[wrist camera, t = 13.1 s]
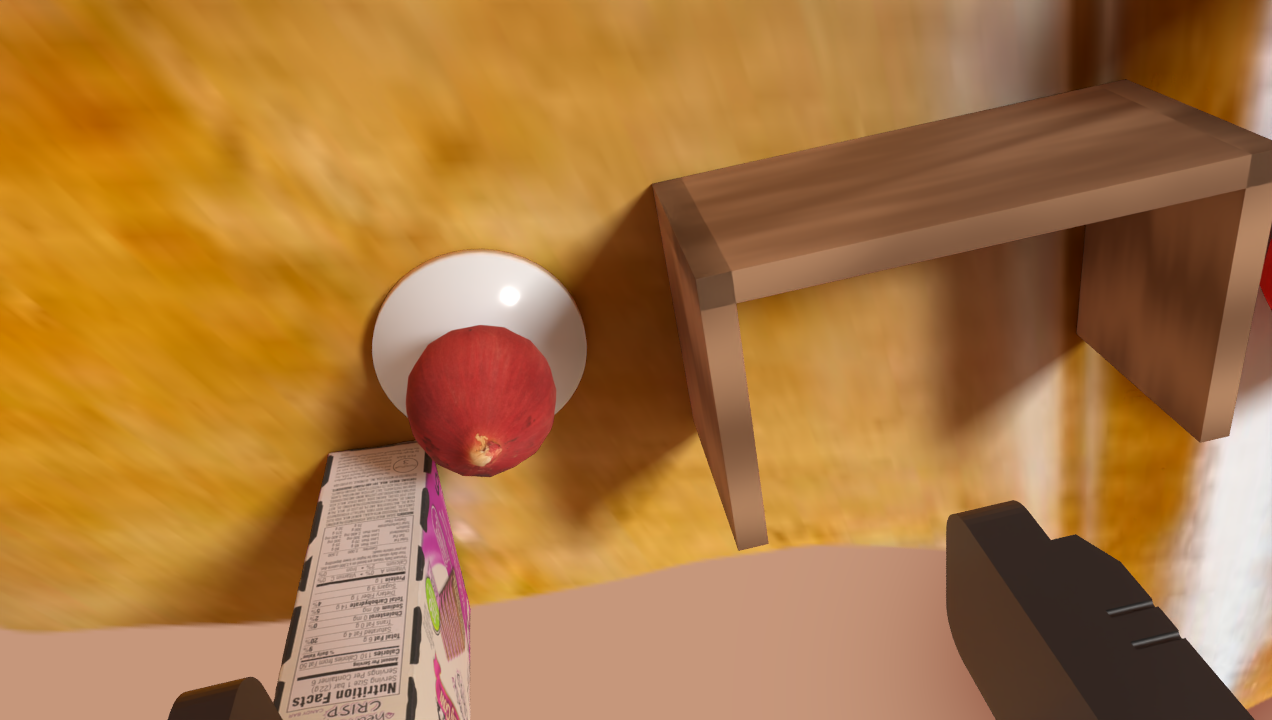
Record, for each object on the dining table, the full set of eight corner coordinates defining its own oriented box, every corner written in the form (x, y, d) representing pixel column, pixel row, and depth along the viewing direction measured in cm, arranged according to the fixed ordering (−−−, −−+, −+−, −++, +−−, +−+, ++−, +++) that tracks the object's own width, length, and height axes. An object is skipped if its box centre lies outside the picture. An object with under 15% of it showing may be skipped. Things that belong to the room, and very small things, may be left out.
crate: (652, 183, 38) (695, 279, 30) (1125, 79, 38) (1286, 146, 31) (693, 421, 44) (738, 550, 36) (1100, 328, 45) (1229, 435, 37)
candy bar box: (477, 607, 48) (476, 935, 34) (379, 623, 48) (337, 961, 34) (436, 430, 42) (415, 737, 28) (324, 447, 42) (246, 766, 28)
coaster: (344, 275, 38) (341, 284, 37) (560, 227, 38) (562, 235, 37) (410, 449, 43) (408, 460, 42) (602, 405, 43) (604, 415, 42)
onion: (539, 415, 42) (550, 534, 35) (406, 403, 40) (391, 524, 34) (559, 299, 39) (576, 403, 32) (418, 283, 38) (404, 387, 31)
